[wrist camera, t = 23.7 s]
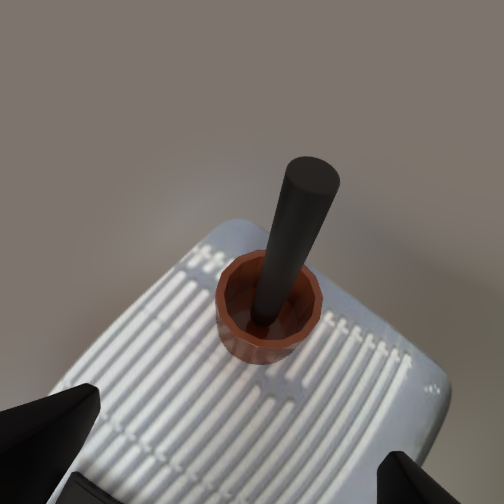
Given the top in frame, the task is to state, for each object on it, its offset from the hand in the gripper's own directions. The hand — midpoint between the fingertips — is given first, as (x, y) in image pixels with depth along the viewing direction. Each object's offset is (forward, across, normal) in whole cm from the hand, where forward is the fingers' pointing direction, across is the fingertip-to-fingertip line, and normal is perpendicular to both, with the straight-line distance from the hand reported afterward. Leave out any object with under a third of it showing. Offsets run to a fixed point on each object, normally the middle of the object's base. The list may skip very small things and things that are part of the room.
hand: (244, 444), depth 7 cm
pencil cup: (+14, 0, +3) cm, 14 cm away
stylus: (+14, 0, +2) cm, 14 cm away
